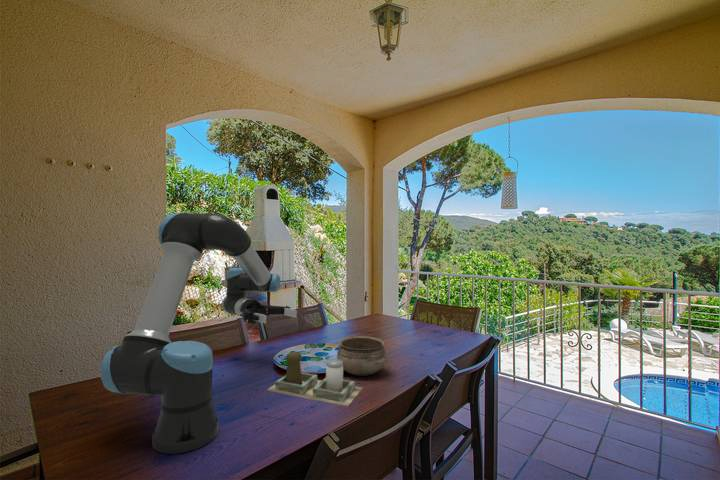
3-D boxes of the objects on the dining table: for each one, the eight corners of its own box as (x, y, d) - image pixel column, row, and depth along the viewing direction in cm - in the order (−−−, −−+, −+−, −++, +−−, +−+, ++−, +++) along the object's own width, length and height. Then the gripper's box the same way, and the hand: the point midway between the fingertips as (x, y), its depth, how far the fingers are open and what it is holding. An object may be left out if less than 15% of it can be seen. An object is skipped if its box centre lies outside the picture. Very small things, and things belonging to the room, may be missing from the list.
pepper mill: (304, 387, 114) (304, 353, 115) (285, 389, 112) (286, 355, 113) (300, 381, 120) (301, 349, 121) (283, 383, 118) (283, 351, 119)
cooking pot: (402, 377, 129) (402, 344, 129) (367, 392, 115) (368, 356, 115) (356, 359, 147) (357, 331, 147) (321, 370, 133) (322, 339, 133)
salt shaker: (338, 397, 108) (339, 365, 108) (322, 394, 110) (323, 363, 110) (345, 390, 114) (345, 359, 114) (330, 387, 115) (330, 357, 115)
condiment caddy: (347, 410, 103) (347, 398, 103) (266, 393, 113) (266, 382, 113) (362, 391, 116) (362, 380, 116) (288, 377, 126) (288, 367, 126)
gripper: (274, 313, 147) (307, 321, 133) (218, 322, 127) (250, 333, 114) (274, 296, 147) (307, 302, 133) (219, 302, 127) (251, 310, 114)
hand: (281, 316), depth 123 cm, fingers open, 13 cm apart
